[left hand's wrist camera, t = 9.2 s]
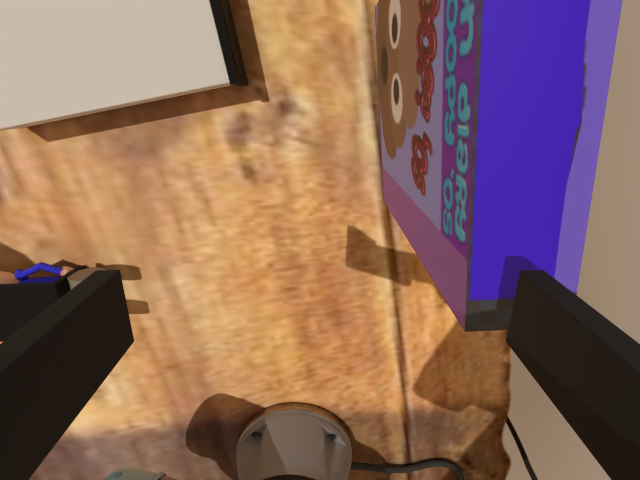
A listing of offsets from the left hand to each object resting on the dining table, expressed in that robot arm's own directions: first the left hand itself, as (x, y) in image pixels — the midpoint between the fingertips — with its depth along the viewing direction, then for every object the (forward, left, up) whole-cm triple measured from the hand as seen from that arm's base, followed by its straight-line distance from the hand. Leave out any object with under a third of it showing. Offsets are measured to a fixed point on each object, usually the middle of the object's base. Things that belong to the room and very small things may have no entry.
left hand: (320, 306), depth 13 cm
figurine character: (+29, +14, -28) cm, 42 cm away
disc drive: (+20, -14, -28) cm, 37 cm away
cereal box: (-8, -6, -28) cm, 29 cm away
